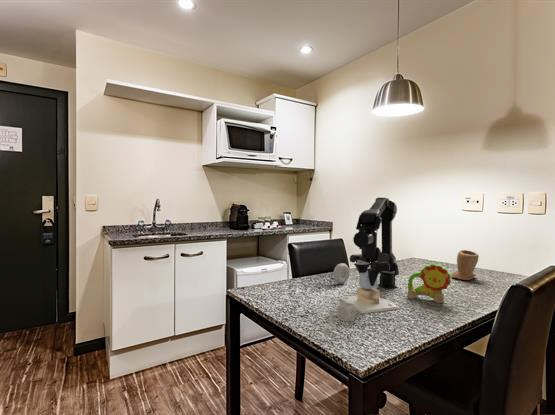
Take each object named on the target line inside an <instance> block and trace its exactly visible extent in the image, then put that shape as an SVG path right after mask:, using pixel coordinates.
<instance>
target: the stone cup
mask: <svg viewBox="0 0 555 415" xmlns="http://www.w3.org/2000/svg"><path fill="white" fill-rule="evenodd" d="M479 257H480V256H479V253H477V252H474V251H472V250H470V249H469V250H468V249H461V250H459V251H458V253H457V256H456V264H457V270H456V271H455V272H452V273H450V275H451V277H452V278H455V279H458V280H464V281H470V280H472V279H475V277H476V276H477V273H475V272H474V270H475V268H476V266H477V264H478V262H479Z"/></svg>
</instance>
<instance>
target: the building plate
mask: <svg viewBox="0 0 555 415" xmlns="http://www.w3.org/2000/svg"><path fill="white" fill-rule="evenodd" d="M338 298H339V299H338V300H339V301H341V303H344V302H346V303H351V304H353V305H354V306H355V307H356V310H357V312H358V313H360V314H367V313H368V314H370V313H378V312H384V311H394V310H395V311H396V310H399V305H396V304H395V303H392V302H391V301H388V300H386V299H384V298H381V297H380V296H379V304H371V305H365V304H363V303H361V302H360V301H358V300H357V295H349V296H348V295H347V296H345V295H344V296H340V297H338Z"/></svg>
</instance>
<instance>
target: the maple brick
mask: <svg viewBox="0 0 555 415" xmlns="http://www.w3.org/2000/svg"><path fill="white" fill-rule="evenodd" d="M356 290H357V291H356V294H357V295H356V296H357V300H358V301H360V302H361V303H363V304H365V305H371V304H379V297H380V293H381V292H380V290H379V289H378V288H372V289H365V288H363V287H361V286H358V287H357V289H356Z"/></svg>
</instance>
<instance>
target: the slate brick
mask: <svg viewBox="0 0 555 415" xmlns="http://www.w3.org/2000/svg"><path fill="white" fill-rule="evenodd" d="M358 275H359V276H358V287H363V288H365V289H372V288H375V289H378V284H379V283H378V281H379V278H378V276H379V275H378V276H377V279H376V281H375V284H374V286H371V285H370V281H369V276H368V272H366V273H359V272H358Z"/></svg>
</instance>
